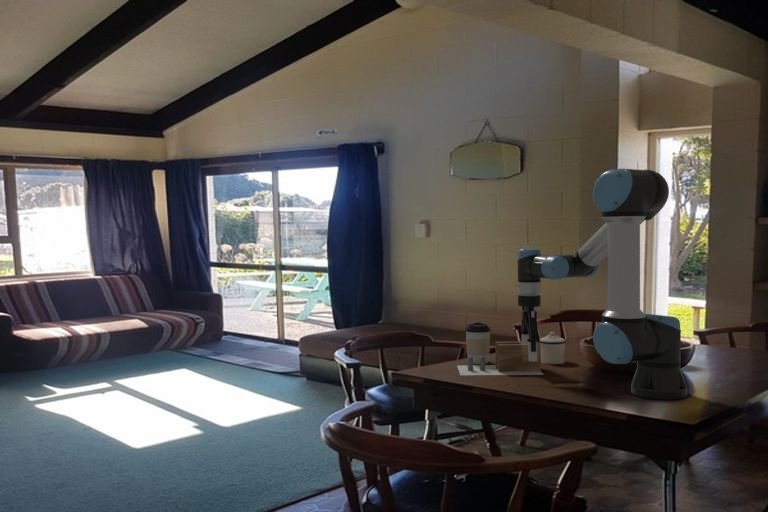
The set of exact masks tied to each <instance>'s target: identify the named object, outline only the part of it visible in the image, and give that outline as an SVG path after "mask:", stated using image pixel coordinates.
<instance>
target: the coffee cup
mask: <svg viewBox="0 0 768 512" xmlns="http://www.w3.org/2000/svg"><path fill="white" fill-rule="evenodd" d="M465 336H466V337H465V343H466V354H467V358H468V357H469V356H471V357H473V365H480V359H479V357H480V356H484V357H485V365H487V364H488V363H489V355H490V347H491V346H490V345H491V327H489V325H488V324H486V323H482V322H474V323H470V324H468V325H467V326H466V327H465Z"/></svg>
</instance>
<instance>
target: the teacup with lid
mask: <svg viewBox="0 0 768 512" xmlns="http://www.w3.org/2000/svg"><path fill="white" fill-rule="evenodd" d="M538 341H539V342H538V343H539V344H540V345H541V364H542V363H543V364H546V365H547V364H548V365H559V364H560V365H561V364H565V363H566V340H565V338H562V337H561V336H559V335H558V334H557V335H556V332H554V331H551V332H549V333H548V334H547V335H546V336H543V337H541V338H539V340H538Z"/></svg>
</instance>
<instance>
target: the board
mask: <svg viewBox="0 0 768 512" xmlns="http://www.w3.org/2000/svg"><path fill="white" fill-rule="evenodd" d="M479 359H480V364H473V357H471V356H469V357H468V356H467V365H466V364H465V365H464V364H463V365H456V367H457V369H458V373H459V375H460V376H525V375H527V376H536V375H537V376H538V375H539V376H541V375H542V376H543V375H545V374H544V373H543V372H542V371H541V372H498V369H496V364H491V365H490V364H489V365H487V364H485V357H484V356H480V357H479Z"/></svg>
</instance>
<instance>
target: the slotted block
mask: <svg viewBox="0 0 768 512" xmlns="http://www.w3.org/2000/svg"><path fill="white" fill-rule="evenodd" d="M495 365H496V369H498V372H542V362H541V345H540V342H538V341H537V361H529V342H527V341H522V340H520V341H517V340H515V341H495Z"/></svg>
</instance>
